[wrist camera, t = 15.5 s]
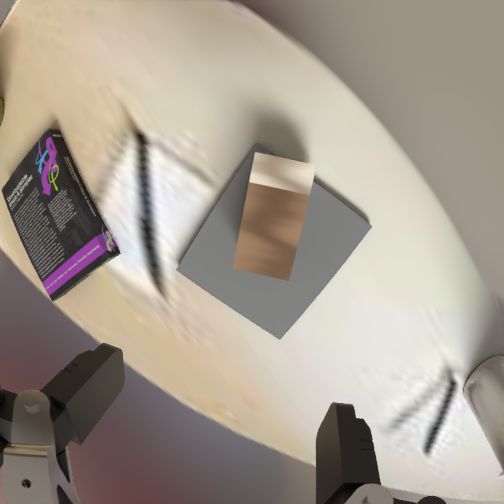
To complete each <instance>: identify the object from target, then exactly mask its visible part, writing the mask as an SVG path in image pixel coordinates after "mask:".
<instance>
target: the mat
mask: <svg viewBox="0 0 504 504" xmlns="http://www.w3.org/2000/svg"><path fill="white" fill-rule="evenodd" d="M255 152H257V153H262V154H267V155H272V156H276V155H275V154H273V153H272V152H270V151H269V150H267V149H266V148H264V147H262V146H261V145H259V144H258V143H257V144H256V145H255V147H254V148H253V150H252V151H251V153H250V154H249V156H248V157H247V159H246V160H245V162H244V163H243V165H242V166H241V168H240V169H239V171H238V172H237V174H236V175H235V177H234V178H233V180H232V181H231V183H230V184H229V186H228V187H227V189H226V190H225V192H224V193H223V195H222V196H221V198H220V200H219V201H218V203H217V204H216V206H215V207H214V209H213V211H212V212H211V214H210V215H209V217H208V218H207V220H206V222H205V223H204V225H203V226H202V228H201V230H200V231H199V233H198V235H197V236H196V238H195V239H194V241H193V243H192V244H191V246H190V248H189V249H188V251H187V253H186V254H185V256H184V258H183V259H182V261H181V263H180V264H179V266H178V268H177V269H176V270H177V271H178V272H180V273H181V274H183V275H184V276H185V277H187V278H188V279H190V280H191V281H192V282H194V283H195V284H197V285H198V286H200V287H201V288H202V289H204V290H205V291H207V292H208V293H210V294H211V295H213V296H214V297H216V298H217V299H219V300H220V301H221V302H223V303H224V304H226V305H227V306H229V307H230V308H232V309H233V310H235V311H236V312H238V313H239V314H241V315H242V316H244V317H245V318H247V319H249V320H250V321H252V322H253V323H255V324H256V325H258V326H259V327H261V328H262V329H264V330H266V331H267V332H269V333H270V334H272V335H273V336H275V337H277V338H278V339H281V338H282V337H283V336H284V335H285V334H286V332H287V331H288V330H289V329H290V328H291V327H292V326H293V324H294V323H295V322H296V321H297V320H298V319H299V317H300V316H301V315H302V314H303V313H304V312H305V310H306V309H307V308H308V307H309V306H310V305H311V303H312V302H313V301H314V300H315V299H316V297H317V296H318V295H319V294H320V293H321V291H322V290H323V289H324V288H325V286H326V285H327V284H328V283H329V281H330V280H331V279H332V278H333V277H334V275H335V274H336V273H337V272H338V270H339V269H340V268H341V266H342V265H343V264H344V263H345V261H346V260H347V259H348V258H349V256H350V255H351V254H352V252H353V251H354V250H355V248H356V247H357V246H358V244H359V243H360V242H361V241H362V239H363V238H364V237H365V235H366V234H367V232H368V231H369V230H370V228H371V227H372V226H371V225H370V224H369V223H368V222H366V221H365V220H364V219H363V218H361V217H360V216H359V215H357V214H356V213H355V212H354V211H352V210H351V209H350V208H348V207H347V206H346V205H345V204H343V203H342V202H341V201H339V200H338V199H337V198H335V197H334V196H333V195H331V194H330V193H329V192H327V191H326V190H325V189H323V188H322V187H320V186H319V185H318V184H316V183H315V182H314V181H313V183H312V188H311V192H310V197H309V201H308V205H307V210H306V214H305V218H304V223H303V227H302V231H301V235H300V239H299V243H298V247H297V251H296V255H295V259H294V263H293V267H292V271H291V275H290V279H289V281H286V280H281V279H277V278H272V277H268V276H264V275H260V274H255V273H251V272H247V271H243V270H238V269H234V268H233V263H234V257H235V252H236V247H237V242H238V236H239V231H240V226H241V221H242V216H243V211H244V205H245V200H246V195H247V190H248V185H249V180H250V175H251V170H252V165H253V160H254V156H255ZM277 157H278V156H277Z"/></svg>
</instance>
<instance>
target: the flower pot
mask: <svg viewBox="0 0 504 504" xmlns="http://www.w3.org/2000/svg"><path fill="white" fill-rule="evenodd" d="M3 113H4V104H3V100H2V99H1V98H0V125H1V122H2V119H3Z"/></svg>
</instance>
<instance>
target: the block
mask: <svg viewBox="0 0 504 504" xmlns="http://www.w3.org/2000/svg"><path fill="white" fill-rule="evenodd" d="M315 169H316V165H312V164H308V163H304V162H300V161H295V160H291V159H286V158H281V157H277V156H272V155H267V154H262V153H257V152H255V156H254V160H253V165H252V170H251V175H250V180H249V185H248V190H247V195H246V200H245V205H244V211H243V216H242V221H241V226H240V231H239V236H238V242H237V247H236V252H235V257H234V263H233V268H234V269H238V270H243V271H247V272H251V273H255V274H260V275H264V276H268V277H272V278H277V279H281V280H286V281H289V279H290V275H291V271H292V267H293V263H294V259H295V255H296V251H297V247H298V243H299V239H300V235H301V231H302V227H303V223H304V218H305V214H306V210H307V205H308V201H309V197H310V192H311V188H312V183H313V179H314V174H315Z"/></svg>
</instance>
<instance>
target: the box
mask: <svg viewBox="0 0 504 504" xmlns="http://www.w3.org/2000/svg"><path fill="white" fill-rule="evenodd" d="M2 193H3V196H4V199H5V202H6V204H7V207H8V210H9V212H10V215H11V218H12V220H13V223H14V225H15V228H16V230H17V232H18V234H19V237H20V239H21V241H22V244H23V246H24V248H25V250H26V252H27V254H28V257H29V259H30V261H31V263H32V265H33V267H34V269H35V270H36V272H37V274H38V276H39V278H40V280H41V282H42V284H43V286H44V287H45V289H46V291H47V293H48V295H49V296H50V298H51V300H52V301H53V302H54V301H56V300H57V299H59V298H60V297H62V296H63V295H65V294H66V293H67V292H68V291H70V290H71V289H72V288H74V287H75V286H76V285H77V284H79V283H80V282H81V281H83V280H84V279H86V278H87V277H88V276H89V275H91V274H92V273H94V272H95V271H96V270H98V269H99V268H100V267H102V266H103V265H105V264H106V263H107V262H109V261H110V260H112V259H113V258H115V257H116V256H118V255H119V254H121V253H120V251H119V249H118V247H117V245H116V244H115V242H114V240H113V238H112V236H111V235H110V233H109V231H108V229H107V227H106V226H105V224H104V222H103V220H102V218H101V216H100V214H99V213H98V211H97V209H96V207H95V205H94V203H93V201H92V199H91V197H90V195H89V193H88V191H87V189H86V187H85V185H84V183H83V181H82V179H81V177H80V175H79V173H78V170H77V168H76V166H75V164H74V162H73V160H72V157H71V155H70V153H69V151H68V148H67V146H66V144H65V141H64V139H63V137H62V134H61V132H60V130H57V129H49V128H48V129H47V130H46V131H45V132H44V134H43V136H42V137H41V138H40V139H39V140H38V142H37V143H36V144H35V145H34V146H33V148H32V149H31V150H30V151H29V153H28V154H27V155H26V157H25V158H24V159H23V161H22V162H21V163H20V165H19V166H18V167H17V169H16V170H15V171H14V173H13V174H12V176H11V177H10V179H9V180H8V181H7V183H6V184H5V186H4V187H3V188H2Z"/></svg>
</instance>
